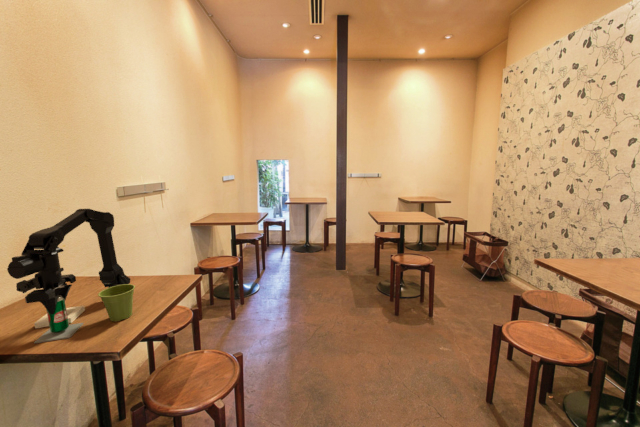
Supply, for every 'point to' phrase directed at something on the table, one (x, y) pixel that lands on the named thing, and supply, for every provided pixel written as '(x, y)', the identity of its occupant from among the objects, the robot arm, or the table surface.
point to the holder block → (73, 314)
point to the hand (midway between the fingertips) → (56, 310)
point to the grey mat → (59, 334)
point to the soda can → (58, 317)
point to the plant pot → (118, 301)
